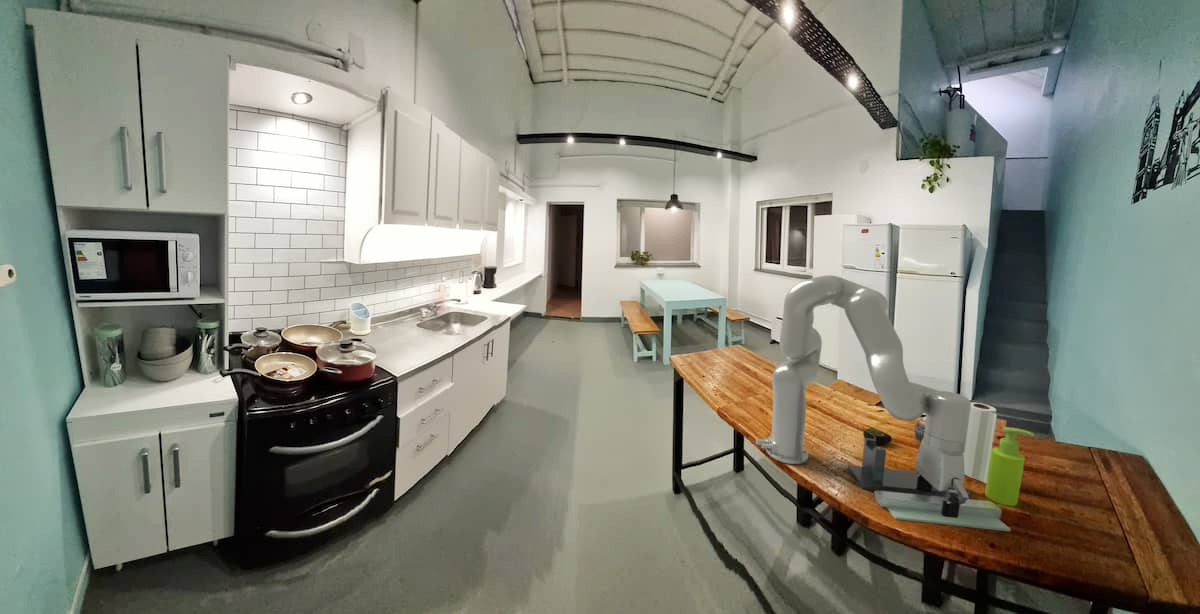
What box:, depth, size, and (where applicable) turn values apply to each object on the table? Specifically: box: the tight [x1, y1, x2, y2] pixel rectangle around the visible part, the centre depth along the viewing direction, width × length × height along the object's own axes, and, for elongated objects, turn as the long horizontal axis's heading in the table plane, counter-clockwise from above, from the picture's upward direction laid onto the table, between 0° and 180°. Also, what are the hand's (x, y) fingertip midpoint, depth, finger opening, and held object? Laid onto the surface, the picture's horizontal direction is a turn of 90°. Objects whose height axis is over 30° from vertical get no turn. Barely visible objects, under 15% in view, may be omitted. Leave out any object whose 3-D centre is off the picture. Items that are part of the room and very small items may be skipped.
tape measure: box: [862, 427, 893, 446], centre depth 127 cm, size 7×7×4 cm
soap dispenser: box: [984, 426, 1036, 507], centre depth 96 cm, size 6×7×20 cm
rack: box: [846, 438, 972, 499], centre depth 104 cm, size 26×9×12 cm, turn 78°
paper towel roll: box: [963, 401, 998, 484], centre depth 107 cm, size 7×6×21 cm
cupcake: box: [913, 415, 927, 444], centre depth 125 cm, size 10×10×10 cm
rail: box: [874, 490, 1003, 520], centre depth 94 cm, size 26×3×2 cm, turn 78°
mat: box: [874, 490, 1012, 532], centre depth 94 cm, size 24×10×1 cm, turn 78°
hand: (935, 503), depth 94 cm, fingers open, 9 cm apart
